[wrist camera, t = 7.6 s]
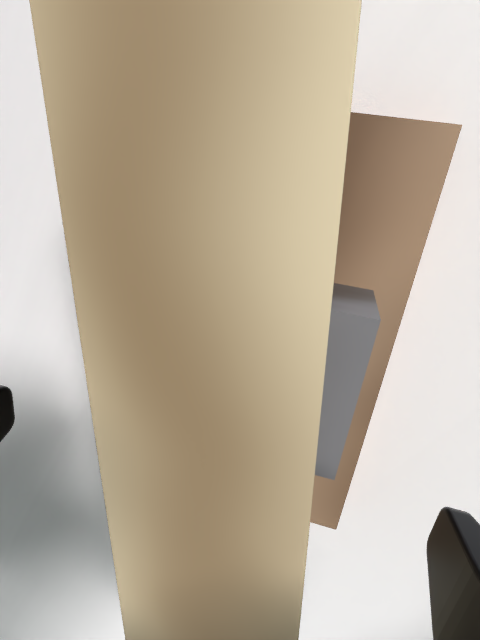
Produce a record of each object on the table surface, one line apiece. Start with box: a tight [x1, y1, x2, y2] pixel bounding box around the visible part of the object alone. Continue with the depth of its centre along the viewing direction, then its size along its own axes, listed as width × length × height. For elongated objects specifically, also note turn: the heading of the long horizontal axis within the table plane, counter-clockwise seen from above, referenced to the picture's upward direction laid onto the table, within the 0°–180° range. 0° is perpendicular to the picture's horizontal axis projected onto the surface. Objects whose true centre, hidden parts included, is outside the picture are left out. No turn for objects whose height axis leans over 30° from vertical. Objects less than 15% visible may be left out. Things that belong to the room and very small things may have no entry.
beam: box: [29, 0, 362, 640], centre depth 9 cm, size 4×16×4 cm, turn 179°
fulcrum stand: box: [310, 112, 462, 529], centre depth 12 cm, size 8×14×4 cm, turn 173°
